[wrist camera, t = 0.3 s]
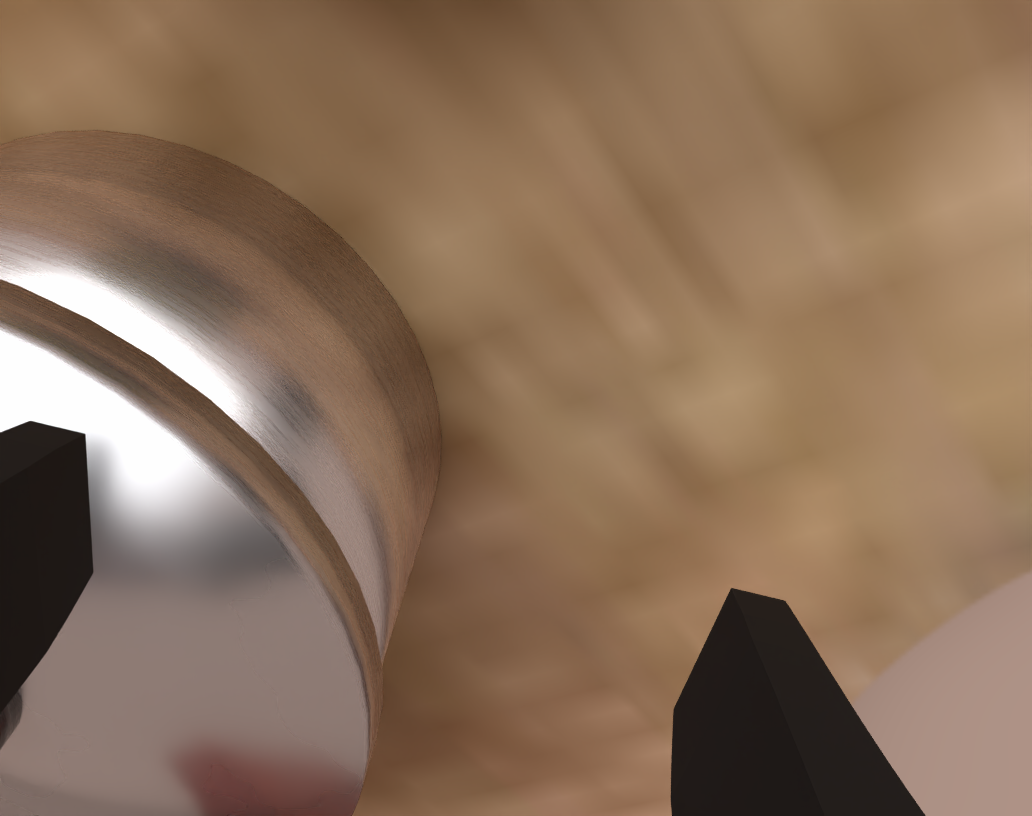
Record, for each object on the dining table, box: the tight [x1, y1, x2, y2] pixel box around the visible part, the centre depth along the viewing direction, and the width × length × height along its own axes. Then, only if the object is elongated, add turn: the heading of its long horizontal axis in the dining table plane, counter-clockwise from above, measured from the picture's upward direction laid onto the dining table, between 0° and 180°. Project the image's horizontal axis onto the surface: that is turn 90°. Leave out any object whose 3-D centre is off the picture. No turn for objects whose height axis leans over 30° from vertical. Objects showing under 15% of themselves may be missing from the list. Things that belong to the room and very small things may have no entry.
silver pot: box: [0, 130, 442, 664], centre depth 20 cm, size 20×14×7 cm
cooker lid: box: [0, 279, 383, 816], centre depth 15 cm, size 21×15×3 cm
